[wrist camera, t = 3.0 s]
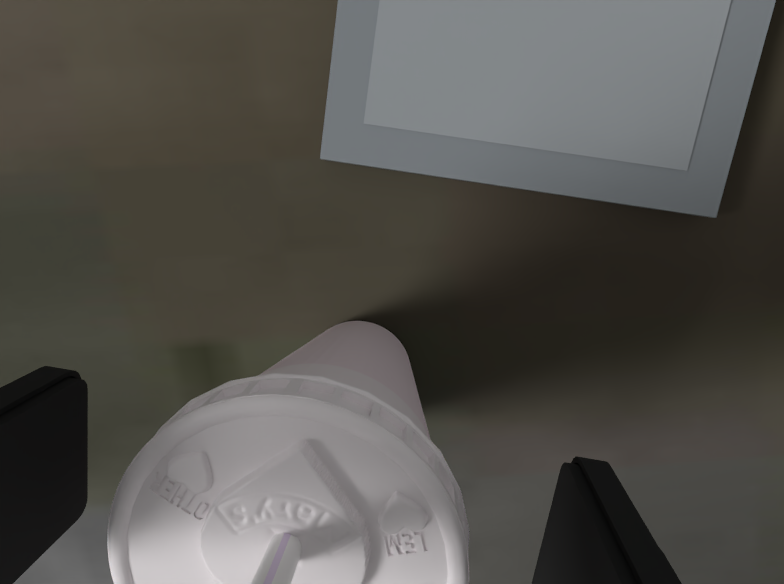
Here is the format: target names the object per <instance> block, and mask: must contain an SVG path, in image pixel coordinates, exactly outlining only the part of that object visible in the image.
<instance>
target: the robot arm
mask: <svg viewBox="0 0 784 584" xmlns="http://www.w3.org/2000/svg"><path fill="white" fill-rule="evenodd" d="M87 413H88V389H87V384H86V382H85V381H84V380H81V377H80V375H79V373H78V372H76V371H72V370H67V369H61V368H55V367H49V366H44V367H41V368H39V369H37V370H35V371H33V372H31V373H29V374H27V375H25V376H23V377H21V378H19V379H17V380H15V381H13V382H11V383H9V384H7V385H5V386H3V387H1V388H0V584H13V583H14V582H15V581H16V580H17V579H18V578H19V577H20V576H21V575H22V574H23V573H24V572H25V571H26V570H27V569H28V568H29V567H30V566H31V565H32V564H33V563H34V562H35V561H36V560H37V559H38V558H39V557H40V556H41V555H42V554H43V553H44V552H45V551H46V550H47V549H48V548H49V547H50V546H51V545H52V544H53V543H54V542H55V541H56V540H57V539H58V538H59V537H60V536H61V535H62V534H64V533H65V532H66V531H67V530H68V529H69V528H70V527H71V526H72V525H73V524H74V523H75V522H76V521H77V520H78V519H79V517H80V516H81V515H82V513H83V511H84V509H85V507H86V503H87ZM532 584H682V583H681V582H680V580H679V578H678V577H677V575H676V573H675V572H674V570H673V568H672V567H671V565H670V563H669V562H668V560H667V558H666V557H665V555H664V553H663V552H662V551H661V549H660V548H659V547H658V545H657V544H656V542H655V540H654V539H653V537H652V535H651V533H650V532H649V530H648V528H647V527H646V525H645V523H644V522H643V520H642V518H641V517H640V515H639V513H638V512H637V510H636V508H635V506H634V505H633V503H632V501H631V500H630V498H629V496H628V495H627V493H626V491H625V490H624V488H623V486H622V485H621V483H620V481H619V479H618V478H617V476H616V474H615V473H614V471H613V469H612V468H611V466H610V464H609V463H608V462H605V461H600V460H594V459H588V458H582V457H575V458H574V459H573V461H572V462H571V463H563V465H562V467H561V470H560V473H559V477H558V481H557V485H556V489H555V493H554V497H553V501H552V505H551V509H550V513H549V517H548V521H547V525H546V529H545V533H544V537H543V541H542V545H541V549H540V553H539V557H538V561H537V565H536V569H535V573H534V577H533V581H532Z"/></svg>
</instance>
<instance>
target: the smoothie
mask: <svg viewBox="0 0 784 584" xmlns="http://www.w3.org/2000/svg"><path fill="white" fill-rule="evenodd" d="M469 533H470V531H469V526H468V521H467V517H466V512H465V507H464V502H463V497H462V492H461V489H460V487H459V485H458V483H457V481H456V480H455V478H454V476H453V474H452V472H451V470H450V468H449V466H448V464H447V463H446V461H445V459H444V457H443V455H442V453H441V451H440V450H439V449H438V448H437V447H436V446H435V445H434V443H433V442H432V441H431V440H430V436H429V432H428V429H427V425H426V421H425V417H424V414H423V410H422V406H421V402H420V399H419V395H418V391H417V387H416V383H415V380H414V376H413V372H412V368H411V365H410V361H409V357H408V355H407V352H406V350H405V348H404V347H403V345H402V343H401V342H400V341H399V340H398V339H397V338H396V336H394V335H393V334H392V333H391V332H390V331H388V330H387V329H385V328H383V327H381V326H379V325H377V324H374V323H371V322H366V321H348V322H343V323H340V324H337V325H335V326H333V327H331V328H329V329H328V330H326V331H325V332H323V333H322V334H320V335H319V336H317V337H316V338H314V339H313V340H311V341H310V342H308V343H307V344H305V345H304V346H302V347H301V348H299V349H298V350H296V351H295V352H293V353H292V354H290V355H289V356H287V357H286V358H284V359H282V360H281V361H279V362H278V363H276V364H275V365H273V366H272V367H270V368H269V369H267V370H266V371H264V372H263V373H261V374H260V375H258V376H254V377H249V378H243V379H238V380H232V381H229V382H227V383H225V384H223V385H221V386H219V387H217V388H214V389H212V390H210V391H208V392H206V393H204V394H202V395H200V396H198V397H196V398H194V399H192V400H190V401H189V402H188V403H187V404H186V405H185V406H183V407H182V408H181V409H180V410H179V411H178V412H177V413H176V414H175V415H174V416H172V417H171V418H170V419H169V420H168V421H167V422H166V423H165V424H164V425H163V426H161V427H160V428H159V430H158V431H157V433H156V435H155V436H154V437H153V438H152V439H151V440H150V441H149V442H148V443H147V444H146V445H145V446H144V447H143V448H142V449H141V450H140V452H139V453H138V454H137V455H136V456H135V458H134V459H133V461H132V462H131V464H130V465H129V467H128V468H127V470H126V471H125V473H124V475H123V477H122V479H121V481H120V483H119V485H118V488H117V491H116V493H115V496H114V499H113V502H112V506H111V510H110V515H109V522H108V533H107V548H108V559H109V565H110V570H111V575H112V579H113V582H114V584H469V556H468V544H469Z"/></svg>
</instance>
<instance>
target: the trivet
mask: <svg viewBox="0 0 784 584" xmlns="http://www.w3.org/2000/svg"><path fill="white" fill-rule="evenodd" d="M775 2H776V0H338V6H337V14H336V23H335V32H334V41H333V50H332V58H331V67H330V76H329V85H328V93H327V102H326V111H325V120H324V128H323V137H322V146H321V155H320V159H323V160H327V161H334V162H340V163H347V164H354V165H360V166H367V167H374V168H380V169H387V170H394V171H401V172H407V173H414V174H421V175H427V176H434V177H441V178H447V179H454V180H461V181H468V182H474V183H481V184H488V185H494V186H501V187H508V188H514V189H521V190H528V191H535V192H541V193H548V194H555V195H561V196H568V197H575V198H581V199H588V200H595V201H602V202H608V203H615V204H622V205H628V206H635V207H642V208H648V209H655V210H662V211H669V212H675V213H682V214H689V215H695V216H703V217H713V218H716V216H717V213H718V209H719V205H720V202H721V198H722V194H723V191H724V187H725V183H726V180H727V176H728V173H729V169H730V165H731V162H732V158H733V154H734V151H735V147H736V144H737V140H738V136H739V133H740V129H741V125H742V122H743V118H744V114H745V111H746V107H747V104H748V100H749V96H750V93H751V89H752V85H753V82H754V78H755V75H756V71H757V67H758V64H759V60H760V56H761V53H762V49H763V45H764V42H765V38H766V35H767V31H768V27H769V24H770V20H771V16H772V13H773V9H774V6H775Z"/></svg>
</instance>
